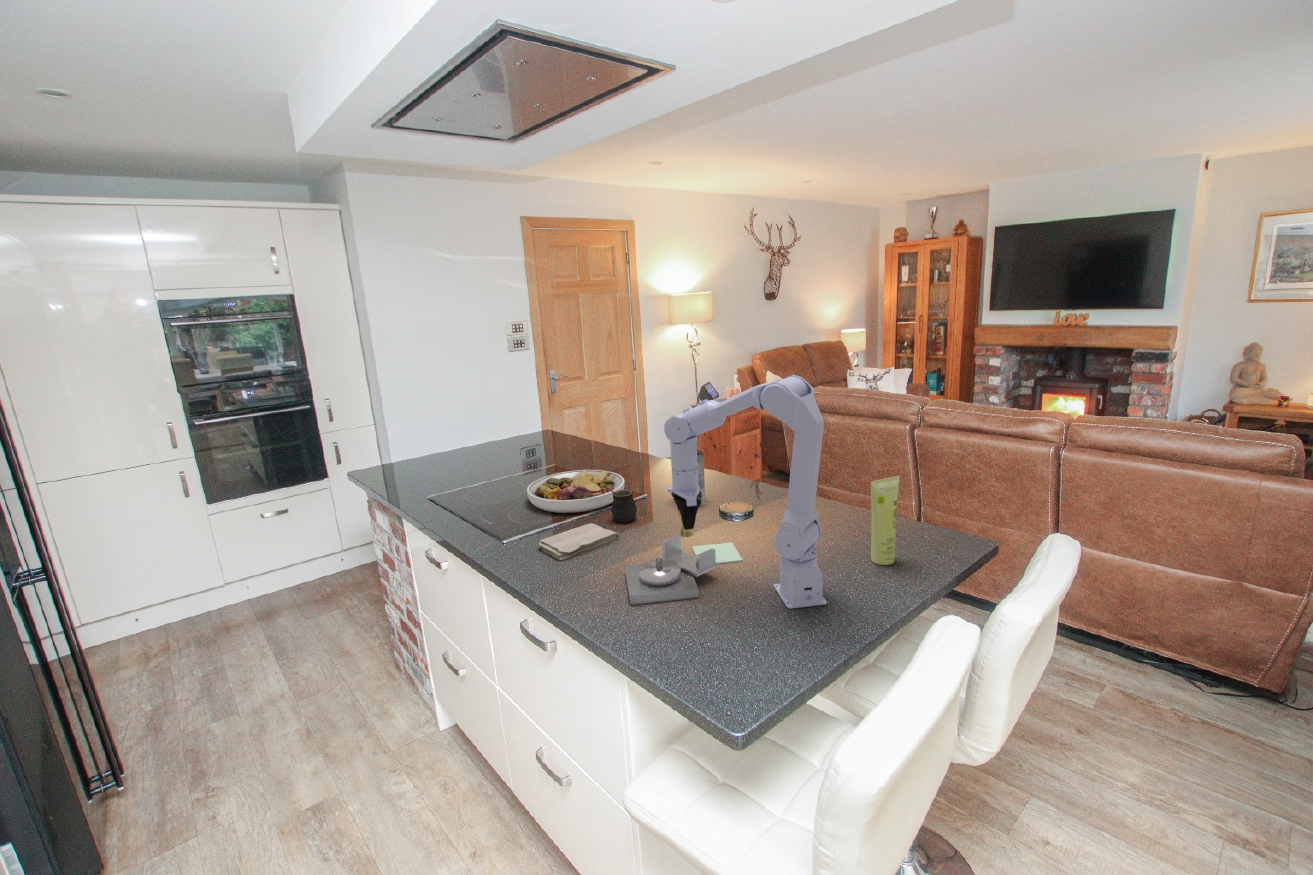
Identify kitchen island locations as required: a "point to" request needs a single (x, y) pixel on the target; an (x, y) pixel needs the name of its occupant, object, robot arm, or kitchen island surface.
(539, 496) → the bowl
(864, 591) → the kitchen island surface
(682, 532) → the olive glass cylinder
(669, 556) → the grey disc and bracket
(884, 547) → the tube
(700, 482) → the coffee box
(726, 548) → the pad
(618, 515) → the mate gourd
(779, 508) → the kitchen island surface
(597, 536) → the washcloth
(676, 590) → the base
